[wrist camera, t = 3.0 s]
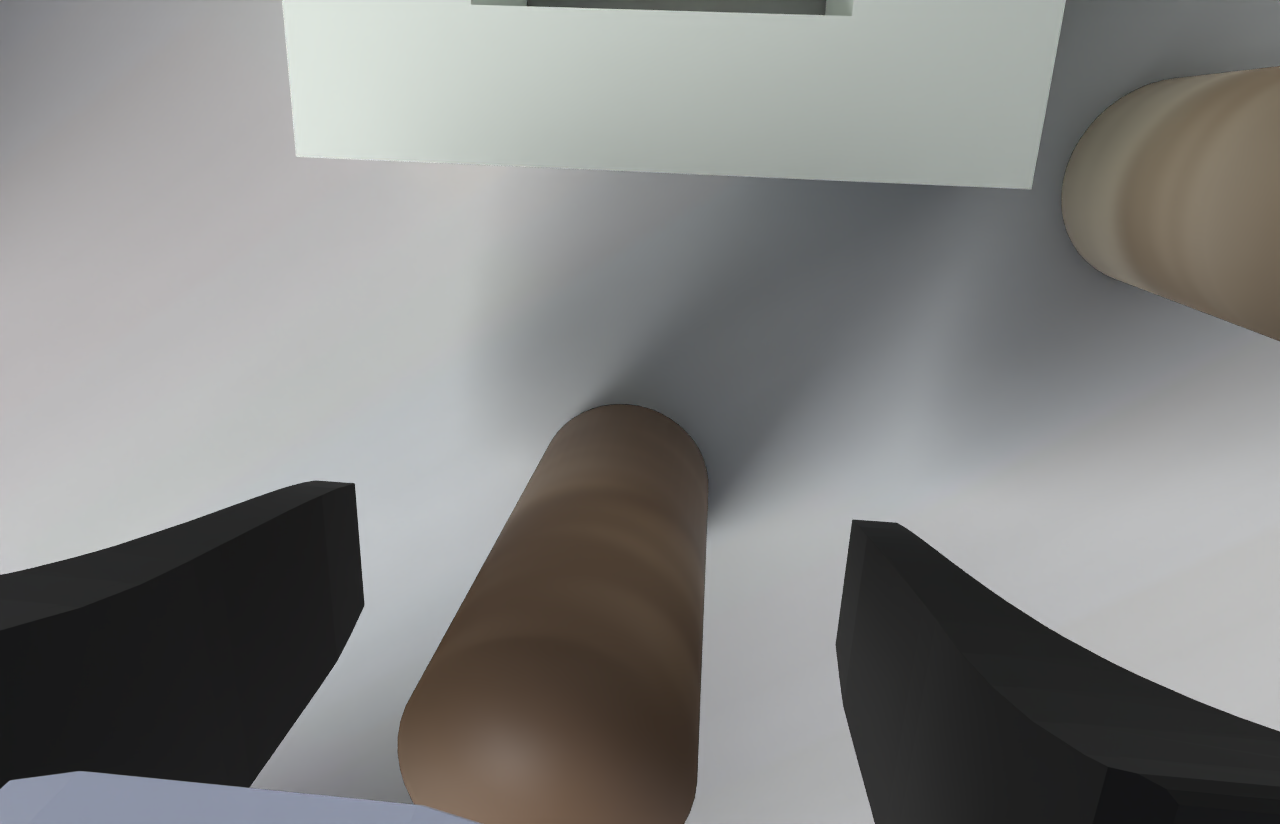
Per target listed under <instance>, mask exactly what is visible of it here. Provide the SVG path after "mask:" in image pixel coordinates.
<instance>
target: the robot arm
mask: <svg viewBox="0 0 1280 824" xmlns="http://www.w3.org/2000/svg"><path fill="white" fill-rule="evenodd" d="M363 607H364V594H363V581H362V569H361V556H360V544H359V531H358V519H357V506H356V494H355V483H341V482H328V481H310V482H304V483H300V484H296V485H292V486H289V487H285V488H282V489H279V490H276V491H273V492H270V493H267V494H264V495H261V496H258V497H256V498H253V499H250V500H247V501H244V502H242V503H239V504H236V505H233V506H230V507H228V508H225V509H222V510H219V511H217V512H214V513H211V514H208V515H206V516H203V517H200V518H197V519H195V520H192V521H189V522H186V523H183V524H180V525H177V526H174V527H171V528H168V529H165V530H162V531H159V532H156V533H153V534H150V535H147V536H144V537H141V538H138V539H135V540H132V541H129V542H126V543H123V544H120V545H116V546H113V547H110V548H106V549H103V550H100V551H96V552H92V553H89V554H85V555H82V556H78V557H74V558H70V559H67V560H63V561H59V562H55V563H51V564H47V565H43V566H39V567H35V568H31V569H26V570H22V571H17V572H13V573H8V574H3V575H0V824H482V823H479V822H475V821H472V820H469V819H466V818H463V817H459V816H456V815H453V814H450V813H447V812H443V811H440V810H437V809H434V808H431V807H427V806H424V805H415V804H405V803H395V802H385V801H375V800H365V799H355V798H345V797H335V796H325V795H315V794H305V793H295V792H286V791H276V790H266V789H256V788H249V787H250V786H251V784H252V783H253V781H254V780H255V779H256V777H257V776H258V774H259V773H260V771H261V770H262V769H263V767H264V766H265V764H266V763H267V762H268V760H269V759H270V757H271V756H272V754H273V753H274V752H275V750H276V749H277V747H278V746H279V744H280V743H281V742H282V740H283V739H284V737H285V736H286V734H287V733H288V732H289V730H290V729H291V727H292V726H293V725H294V723H295V722H296V720H297V719H298V717H299V716H300V715H301V713H302V712H303V710H304V709H305V708H306V706H307V705H308V703H309V702H310V700H311V699H312V697H313V696H314V694H315V693H316V692H317V690H318V689H319V687H320V686H321V684H322V683H323V681H324V680H325V678H326V677H327V676H328V674H329V673H330V671H331V670H332V668H333V667H334V665H335V664H336V662H337V660H338V658H339V657H340V655H341V653H342V651H343V649H344V647H345V645H346V643H347V641H348V639H349V637H350V635H351V633H352V631H353V629H354V627H355V625H356V622H357V620H358V618H359V616H360V614H361V612H362V610H363ZM836 652H837V661H838V669H839V678H840V685H841V693H842V700H843V707H844V710H845V714H846V718H847V722H848V726H849V730H850V733H851V737H852V741H853V745H854V748H855V752H856V756H857V760H858V763H859V767H860V770H861V774H862V778H863V781H864V785H865V789H866V792H867V796H868V800H869V803H870V807H871V811H872V814H873V818H874V822H875V824H1280V732H1279V731H1277V730H1274V729H1271V728H1268V727H1265V726H1262V725H1259V724H1257V723H1254V722H1251V721H1248V720H1245V719H1242V718H1239V717H1237V716H1234V715H1232V714H1229V713H1227V712H1224V711H1221V710H1219V709H1216V708H1214V707H1211V706H1208V705H1206V704H1203V703H1201V702H1198V701H1196V700H1193V699H1191V698H1189V697H1186V696H1184V695H1182V694H1180V693H1177V692H1175V691H1173V690H1170V689H1168V688H1166V687H1164V686H1161V685H1159V684H1157V683H1154V682H1152V681H1150V680H1148V679H1145V678H1143V677H1141V676H1139V675H1136V674H1134V673H1132V672H1130V671H1128V670H1126V669H1124V668H1122V667H1120V666H1118V665H1116V664H1114V663H1112V662H1110V661H1108V660H1106V659H1104V658H1102V657H1100V656H1098V655H1096V654H1095V653H1093V652H1091V651H1089V650H1087V649H1085V648H1083V647H1082V646H1080V645H1078V644H1076V643H1074V642H1072V641H1070V640H1068V639H1067V638H1065V637H1063V636H1061V635H1060V634H1058V633H1056V632H1054V631H1053V630H1051V629H1049V628H1048V627H1046V626H1044V625H1043V624H1041V623H1039V622H1038V621H1036V620H1035V619H1033V618H1032V617H1030V616H1029V615H1027V614H1025V613H1024V612H1022V611H1021V610H1019V609H1018V608H1016V607H1015V606H1013V605H1011V604H1010V603H1008V602H1007V601H1005V600H1004V599H1002V598H1001V597H999V596H998V595H997V594H995V593H994V592H992V591H991V590H989V589H988V588H986V587H985V586H984V585H982V584H981V583H979V582H978V581H977V580H975V579H974V578H973V577H971V576H970V575H968V574H967V573H966V572H964V571H963V570H962V569H960V568H959V567H958V566H956V565H955V564H954V563H952V562H951V561H950V560H948V559H947V558H946V557H944V556H943V555H942V554H940V553H939V552H938V551H936V550H935V549H934V548H933V547H931V546H930V545H929V544H927V543H926V542H925V541H923V540H922V539H921V538H919V537H918V536H916V535H915V534H914V533H912V532H911V531H909V530H908V529H906V528H905V527H903V526H901V525H900V524H898V523H892V522H878V521H864V520H852V526H851V534H850V541H849V549H848V556H847V564H846V571H845V579H844V586H843V594H842V601H841V609H840V616H839V624H838V631H837V639H836Z"/></svg>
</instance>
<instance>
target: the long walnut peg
mask: <svg viewBox="0 0 1280 824" xmlns="http://www.w3.org/2000/svg"><path fill="white" fill-rule="evenodd" d="M707 510H708V475H707V469H706V466H705V462H704V459H703V457H702V455H701V452H700V450H699V449H698V447H697V445H696V444H695V442H694V441H693V439H692V438H691V437H690V436H689V435H688V433H687V432H686V431H685V430H684V429H683V428H681V427H680V426H679V425H678V424H677V423H675V422H674V421H673V420H671V419H670V418H668V417H666V416H664V415H663V414H661V413H659V412H656V411H654V410H651V409H648V408H645V407H641V406H636V405H628V404H614V405H606V406H601V407H597V408H593V409H591V410H588V411H586V412H583V413H581V414H580V415H578V416H576V417H574V418H573V419H572V420H570V421H569V422H568V423H566V424H565V425H564V426H563V427H562V428H561V429H560V430H559V431H558V432H557V434H556V435H555V436H554V438H553V439H552V441H551V442H550V444H549V446H548V448H547V450H546V452H545V453H544V455H543V457H542V459H541V461H540V462H539V464H538V466H537V468H536V470H535V472H534V473H533V475H532V477H531V479H530V481H529V482H528V484H527V486H526V488H525V490H524V492H523V493H522V495H521V497H520V499H519V501H518V502H517V504H516V506H515V508H514V510H513V512H512V513H511V515H510V517H509V519H508V521H507V522H506V524H505V526H504V528H503V530H502V532H501V533H500V535H499V537H498V539H497V541H496V542H495V544H494V546H493V548H492V550H491V552H490V553H489V555H488V557H487V559H486V561H485V562H484V564H483V566H482V568H481V570H480V572H479V573H478V575H477V577H476V579H475V581H474V583H473V584H472V586H471V588H470V590H469V592H468V593H467V595H466V597H465V599H464V601H463V603H462V604H461V606H460V608H459V610H458V612H457V613H456V615H455V617H454V619H453V621H452V623H451V624H450V626H449V628H448V630H447V632H446V633H445V635H444V637H443V639H442V641H441V643H440V644H439V646H438V648H437V650H436V652H435V653H434V655H433V657H432V659H431V661H430V663H429V664H428V666H427V668H426V670H425V672H424V673H423V675H422V677H421V679H420V681H419V683H418V684H417V686H416V688H415V690H414V692H413V694H412V695H411V697H410V699H409V701H408V703H407V705H406V707H405V709H404V712H403V715H402V718H401V721H400V727H399V732H398V759H399V766H400V771H401V774H402V777H403V781H404V784H405V786H406V788H407V791H408V793H409V795H410V797H411V799H412V801H413V803H414V804H415V805H424V806H427V807H431V808H434V809H437V810H440V811H443V812H447V813H450V814H453V815H456V816H459V817H463V818H466V819H469V820H472V821H475V822H479V823H482V824H684V823H685V821H686V819H687V817H688V815H689V813H690V811H691V808H692V805H693V802H694V799H695V793H696V786H697V772H698V746H699V720H700V694H701V667H702V641H703V615H704V589H705V563H706V536H707Z"/></svg>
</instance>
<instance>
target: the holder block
mask: <svg viewBox="0 0 1280 824" xmlns="http://www.w3.org/2000/svg"><path fill="white" fill-rule="evenodd" d="M1065 3H1066V0H826V7H825V15H800V14H766V13H733V12H700V11H666V10H633V9H599V8H566V7H533V6H527V0H282V5H283V16H284V27H285V38H286V49H287V61H288V72H289V83H290V94H291V105H292V116H293V127H294V138H295V149H296V157H313V158H336V159H358V160H380V161H403V162H425V163H448V164H470V165H493V166H515V167H538V168H560V169H583V170H605V171H628V172H650V173H673V174H695V175H717V176H740V177H762V178H785V179H807V180H830V181H852V182H875V183H897V184H920V185H942V186H965V187H987V188H1010V189H1032V183H1033V178H1034V172H1035V167H1036V162H1037V156H1038V151H1039V145H1040V140H1041V134H1042V129H1043V123H1044V118H1045V112H1046V107H1047V102H1048V96H1049V91H1050V85H1051V80H1052V74H1053V69H1054V63H1055V58H1056V52H1057V47H1058V42H1059V36H1060V31H1061V25H1062V20H1063V14H1064V9H1065Z"/></svg>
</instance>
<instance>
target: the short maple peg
mask: <svg viewBox="0 0 1280 824" xmlns="http://www.w3.org/2000/svg"><path fill="white" fill-rule="evenodd" d="M1061 208H1062V215H1063V221H1064V224H1065V227H1066V231H1067V233H1068V235H1069V238H1070V240H1071V242H1072V244H1073V245H1074V247H1075V248H1076V250H1077V251H1078V253H1079V254H1080V255H1081V256H1082V257H1083V258H1084V259H1085V260H1086V261H1087V262H1088V263H1089V264H1090V265H1091V266H1093V267H1094V268H1095V269H1096V270H1098V271H1100V272H1102V273H1103V274H1105V275H1107V276H1109V277H1112V278H1114V279H1116V280H1119V281H1122V282H1124V283H1127V284H1130V285H1132V286H1135V287H1138V288H1140V289H1143V290H1146V291H1148V292H1151V293H1153V294H1156V295H1159V296H1161V297H1164V298H1167V299H1169V300H1172V301H1175V302H1177V303H1180V304H1183V305H1185V306H1188V307H1191V308H1193V309H1196V310H1199V311H1201V312H1204V313H1206V314H1209V315H1212V316H1214V317H1217V318H1220V319H1222V320H1225V321H1228V322H1230V323H1233V324H1236V325H1238V326H1241V327H1244V328H1246V329H1249V330H1252V331H1254V332H1257V333H1260V334H1262V335H1265V336H1267V337H1270V338H1273V339H1275V340H1278V341H1280V66H1277V67H1268V68H1259V69H1251V70H1242V71H1233V72H1225V73H1216V74H1207V75H1198V76H1190V77H1181V78H1174V79H1168V80H1162V81H1159V82H1155V83H1152V84H1148V85H1146V86H1144V87H1141V88H1139V89H1137V90H1134V91H1133V92H1131V93H1129V94H1127V95H1125V96H1124V97H1122V98H1120V99H1119V100H1118V101H1116V102H1115V103H1114V104H1112V105H1111V106H1109V107H1108V108H1107V109H1106V110H1105V111H1104V112H1103V113H1102V114H1100V115H1099V116H1098V117H1097V118H1096V119H1095V121H1094V122H1093V123H1092V124H1091V125H1090V126H1089V127H1088V129H1087V130H1086V131H1085V133H1084V134H1083V136H1082V137H1081V139H1080V140H1079V142H1078V143H1077V145H1076V147H1075V149H1074V151H1073V153H1072V155H1071V157H1070V160H1069V162H1068V165H1067V168H1066V171H1065V175H1064V179H1063V185H1062V193H1061Z"/></svg>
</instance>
